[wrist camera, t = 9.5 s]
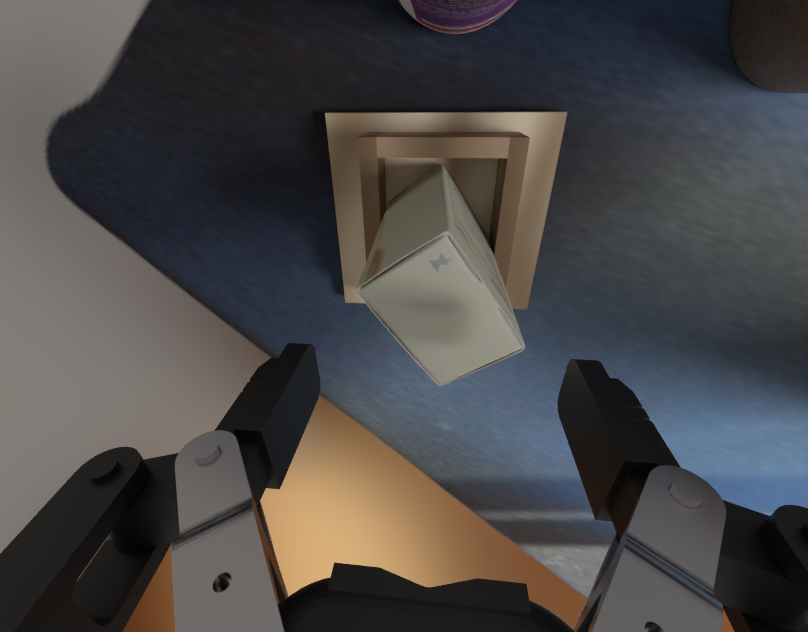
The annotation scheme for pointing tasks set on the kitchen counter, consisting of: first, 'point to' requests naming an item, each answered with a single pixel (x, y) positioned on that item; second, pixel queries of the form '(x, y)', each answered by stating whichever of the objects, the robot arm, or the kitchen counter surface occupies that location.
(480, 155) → the frame
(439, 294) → the skincare box
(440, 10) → the pill bottle
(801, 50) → the pillar candle
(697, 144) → the kitchen counter surface
